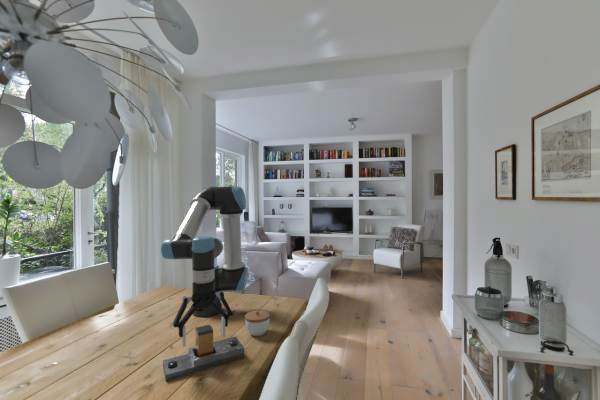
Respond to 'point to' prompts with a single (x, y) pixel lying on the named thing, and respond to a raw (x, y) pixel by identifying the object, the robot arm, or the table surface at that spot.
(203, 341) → the square wooden peg
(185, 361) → the slotted plate with knobs
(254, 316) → the lidded jar
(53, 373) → the table surface
